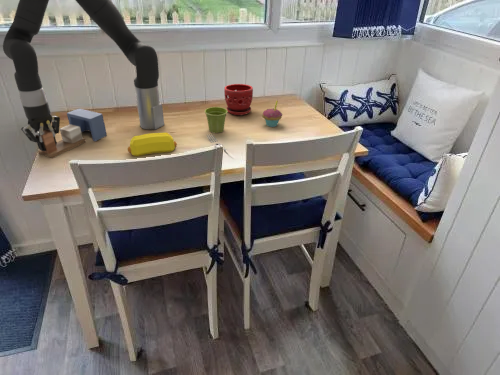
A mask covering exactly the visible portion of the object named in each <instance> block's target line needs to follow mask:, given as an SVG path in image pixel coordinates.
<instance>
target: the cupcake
mask: <svg viewBox="0 0 500 375" xmlns="http://www.w3.org/2000/svg"><path fill="white" fill-rule="evenodd" d="M278 100H279V99H276V101H275V104H274V108H267V109H266V110H264V111H263V112H262V118H263V119H264V121H265V124H266V126H267V127H272V128H273V127H274V128H275V127H277V126H278V124H279V122H280V121H281V119H282V117H283V113H282V112H281V111H280V110H279V109H277V106H278Z"/></svg>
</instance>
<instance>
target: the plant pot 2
mask: <svg viewBox="0 0 500 375" xmlns="http://www.w3.org/2000/svg"><path fill="white" fill-rule="evenodd" d="M253 94H254V88H253V86H251V85H249V84H246V83H245V84H244V83H233V84H228V85H225V87H224V100H225V103H226V106H227V107H226V109H227V111H228V112H227V113H229V114H231V115H234V116H246V115H248V114H249V113H250V112H251V111H252V108H251V105H252V101H253V98H254V96H253Z"/></svg>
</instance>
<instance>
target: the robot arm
mask: <svg viewBox="0 0 500 375" xmlns="http://www.w3.org/2000/svg"><path fill="white" fill-rule="evenodd" d="M49 2H50V0H19V1H18V4H17V7H16V10H15V14H14V16H13V22H12V23H11V25H10V26H9V29H8V31H7V32H6V33H5V36H4V38H3V43H2V50H3V53H4V54H5V55H6V57H7V58H9V59H10V60H12V63H13V66H14V70H15V72H14V76H13V77H14V80H15V83H16V86H17V90H18V93H19V95H18V96H19V99H20V102H21V105H22V107H23V111H24V114H25V116H26V119H27V125H26V126H25V127H23V126H22V127H21V129H20V130H21V132H22V133H23V134H24V135H25V136H26V138H27V139H28V140H29V141H30V142H32V143H36V144H37V148H38V150H41V151H46V148H45V144H44V141H43V137H42V135H43V131H44V130H46V131H49V132H52V134H53V137H54V141H55V144H57V142H58V141H57V139H56V136H57V134H59V133H60V125H61V124H60V123H61V118H60V117H59V116H57V115H51V114H52V113H51V108H50V105H49V101H48V99H47V96H46V91H45V90H44V88H43V85H42V81H41V77H40V75H39V63H38V57H37V52H36V50H35V48H34V46H33V45H32V44H31V42H32V40H33V38H34V36H36V35H38V34H39V32H40V30H41V29H42V28H41V26H42V24H43V21H44V18H45V14H46V11H47V7H48V5H49ZM75 2H76V3H77V4H78V5H79V6H80V7H81V8H82V10H83V11H84V12H85V13H86V15H87V16H89V18H90V19H91V20H92V21H93V22H94V23H95V24H96V25H97V26H98V27H99V28H100V29H101V30H102V31H103V32H104V33H105V34H106V35H107V37H109V38H110V39H111V40H112V41H113V42H114V43H115V44H116V45H117V47H118V48H119V49H120V50H121V52H122V53H123V54H124V56H125V58H126V59H127V60H128V61H129V63H131V64H132V65H133V66H135V71H136V77H134V78H133V84H134V85H133V86H134V93H135V99H136V105H137V112H138V113H137V114H138V118H139V125H140V128H142V129H144V130H158V129H159V128H161V127H163V126H165V120H164V109H163V104H162V103H161V101H160V100H161V99H160V92H159V79H160V78H159V77H160V74H159V73H160V70H159V58H158V54H157V52H156V50H155V48H154V47H153V46H151V45H149V44H146V43H144V42H142V41H141V40H140V39H138V38H137V36H136V35H135V34H134V33H133V32H132V31H131V30H130V29H129V27H128V26H127V24H126V22H125V20H124V18H123V16H122V13H121V12H120V10H119V9H118V7H117V6H116V5H115V3H114V2H113V1H112V0H75Z"/></svg>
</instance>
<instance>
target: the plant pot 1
mask: <svg viewBox="0 0 500 375" xmlns="http://www.w3.org/2000/svg"><path fill="white" fill-rule="evenodd" d="M204 113H205V115H206V120H207V124H208V130H209V132H210V133H211V134H218V133H222V132H224V130H225V122H226V116H227V113H229V112H228V111H227V108H225V107H222V106H211V107H208V108H206V109H204Z"/></svg>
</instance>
